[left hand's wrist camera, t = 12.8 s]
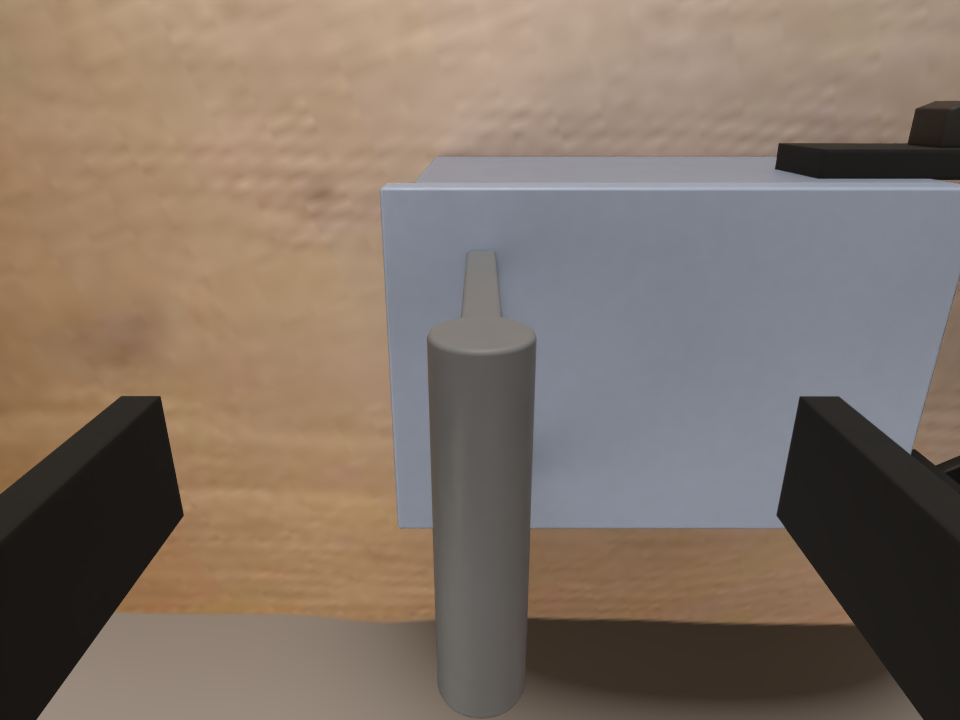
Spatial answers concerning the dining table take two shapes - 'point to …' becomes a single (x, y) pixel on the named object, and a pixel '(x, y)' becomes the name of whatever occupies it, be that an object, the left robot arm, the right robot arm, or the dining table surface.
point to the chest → (620, 170)
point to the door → (634, 365)
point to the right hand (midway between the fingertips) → (767, 335)
